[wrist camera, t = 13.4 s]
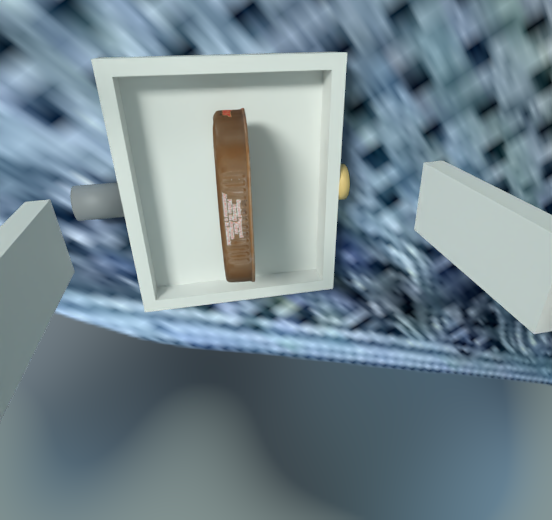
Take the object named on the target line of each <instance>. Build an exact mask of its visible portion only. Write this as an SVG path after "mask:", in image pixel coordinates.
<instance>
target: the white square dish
mask: <svg viewBox="0 0 552 520" xmlns="http://www.w3.org/2000/svg"><path fill="white" fill-rule="evenodd" d="M91 61H92V65H93V70H94V75H95V79H96V84H97V89H98V94H99V98H100V103H101V108H102V112H103V117H104V122H105V126H106V131H107V136H108V141H109V145H110V150H111V155H112V159H113V164H114V169H115V173H116V178H117V183H108V184H94V185H80V186H73V187H72V188H71V205H72V209H73V213H74V215H75V217H76V219H77V220H78V221H81V220H93V219H104V218H116V217H125V220H126V225H127V230H128V234H129V239H130V244H131V249H132V253H133V258H134V263H135V267H136V272H137V277H138V281H139V286H140V291H141V296H142V300H143V305H144V310H145V312H151V311H159V310H167V309H175V308H183V307H191V306H199V305H207V304H215V303H223V302H231V301H239V300H247V299H255V298H263V297H271V296H279V295H287V294H295V293H303V292H311V291H319V290H327V289H333V279H334V263H335V246H336V230H337V213H338V200H342V199H346V198H347V196H348V194H349V188H350V179H349V173H348V169H347V167H346V165H345V164H340V163H341V147H342V130H343V114H344V97H345V81H346V64H347V53H344V52H305V53H265V54H224V55H184V56H143V57H103V58H95V59H91ZM241 108H244V109H245V114H246V120H247V130H248V140H249V154H250V167H251V190H252V210H253V230H254V251H255V282H252V281H247V282H228V281H227V280H226V276H225V269H224V259H223V250H222V241H221V231H220V221H219V210H218V197H217V185H216V173H215V159H214V147H213V115H214V113H215V112H216V111H218V110H237V109H241Z"/></svg>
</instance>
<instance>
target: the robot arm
mask: <svg viewBox="0 0 552 520" xmlns="http://www.w3.org/2000/svg"><path fill="white" fill-rule="evenodd" d="M414 230H415V231H416V232H418V233H419V234H420V235H421V236H422V237H423V238H424V239H426V240H427V241H428V242H429V243H430V244H431V245H432V246H434V247H435V248H436V249H437V250H438V251H439V252H440V253H442V254H443V255H444V256H445V257H446V258H447V259H449V260H450V261H451V262H452V263H453V264H454V265H455V266H457V267H458V268H459V269H460V270H461V271H462V272H463V273H465V274H466V275H467V276H468V277H469V278H470V279H471V280H473V281H474V282H475V283H476V284H477V285H478V286H479V287H481V288H482V289H483V290H484V291H485V292H486V293H487V294H489V295H490V296H491V297H492V298H493V299H494V300H496V301H497V302H498V303H499V304H500V305H501V306H502V307H504V308H505V309H506V310H507V311H508V312H509V313H510V314H512V315H513V316H514V317H515V318H516V319H517V320H518V321H520V322H521V323H522V324H523V325H524V326H525V327H526V328H528V329H529V330H530V331H531V332H532V333H533V334H538V333H544V332H550V331H552V215H551V214H549V213H547V212H545V211H543V210H541V209H539V208H537V207H535V206H533V205H531V204H529V203H527V202H525V201H523V200H521V199H519V198H517V197H515V196H513V195H511V194H509V193H507V192H505V191H503V190H501V189H499V188H497V187H495V186H493V185H491V184H489V183H487V182H485V181H483V180H481V179H479V178H477V177H475V176H473V175H471V174H468V173H466V172H464V171H462V170H460V169H458V168H456V167H454V166H452V165H450V164H448V163H446V162H444V161H435V162H425V163H424V165H423V172H422V179H421V186H420V193H419V200H418V208H417V215H416V222H415V229H414ZM73 274H74V269H73V266H72V263H71V260H70V257H69V254H68V251H67V248H66V245H65V242H64V239H63V236H62V233H61V230H60V227H59V224H58V221H57V219H56V216H55V213H54V210H53V207H52V204H51V201H50V200H41V201H31V202H25V203H24V204H23V205H22V206H21V207H20V208H19V209H18V210H17V211H16V212H15V213H14V214H13V215H12V216H11V217H10V218H9V219H8V220H7V221H6V222H5V223H4V224H3V225H2V226H1V227H0V422H1V420H2V417H3V416H4V413H5V411H6V409H7V407H8V405H9V403H10V401H11V399H12V397H13V395H14V393H15V391H16V389H17V387H18V385H19V383H20V381H21V379H22V377H23V375H24V373H25V371H26V369H27V367H28V365H29V363H30V361H31V359H32V357H33V355H34V353H35V351H36V349H37V347H38V344H39V342H40V341H41V338H42V336H43V334H44V332H45V330H46V328H47V326H48V324H49V322H50V320H51V318H52V316H53V314H54V312H55V310H56V308H57V306H58V304H59V302H60V300H61V298H62V296H63V294H64V292H65V290H66V288H67V286H68V284H69V282H70V280H71V278H72V276H73Z"/></svg>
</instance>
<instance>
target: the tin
mask: <svg viewBox="0 0 552 520" xmlns="http://www.w3.org/2000/svg"><path fill="white" fill-rule="evenodd" d="M213 147H214V159H215V173H216V185H217V197H218V210H219V221H220V231H221V241H222V250H223V259H224V269H225V276H226V280H227V281H228V282H247V281H252V282H255V251H254V230H253V210H252V190H251V167H250V154H249V140H248V130H247V120H246V114H245V109H244V108H241V109H237V110H218V111H216V112H215V113H214V115H213Z"/></svg>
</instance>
